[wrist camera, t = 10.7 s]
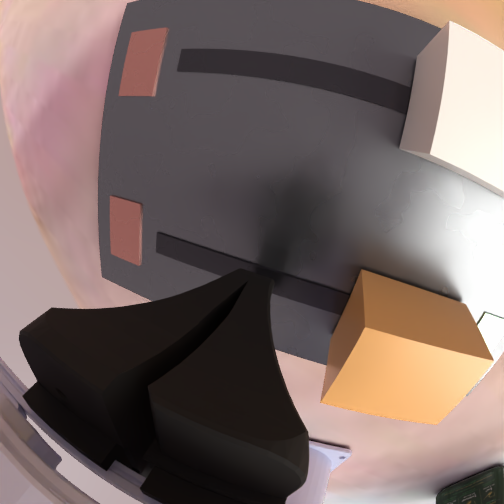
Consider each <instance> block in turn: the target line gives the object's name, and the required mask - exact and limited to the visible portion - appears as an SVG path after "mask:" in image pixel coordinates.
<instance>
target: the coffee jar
mask: <svg viewBox="0 0 504 504" xmlns="http://www.w3.org/2000/svg"><path fill="white" fill-rule="evenodd" d="M436 504H504V467H494V468H491V469H489V470H486V471H484V472H481V473H479V474H477V475H474V476H472V477H470V478H467V479H465V480H463V481H461V482H458V483H456V484H454V485H452V486H449V487H447V488H445V489H444V490H442V491H441V492H440V493H439V494H438V495H437V497H436Z"/></svg>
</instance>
